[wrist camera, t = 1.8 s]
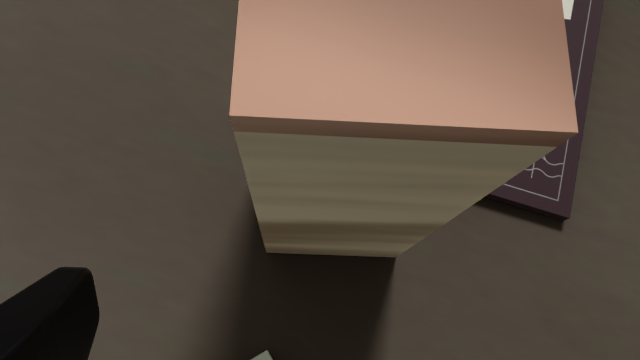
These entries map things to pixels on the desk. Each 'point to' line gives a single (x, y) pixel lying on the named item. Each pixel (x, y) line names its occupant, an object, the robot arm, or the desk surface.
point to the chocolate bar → (561, 163)
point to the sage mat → (263, 356)
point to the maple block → (391, 113)
